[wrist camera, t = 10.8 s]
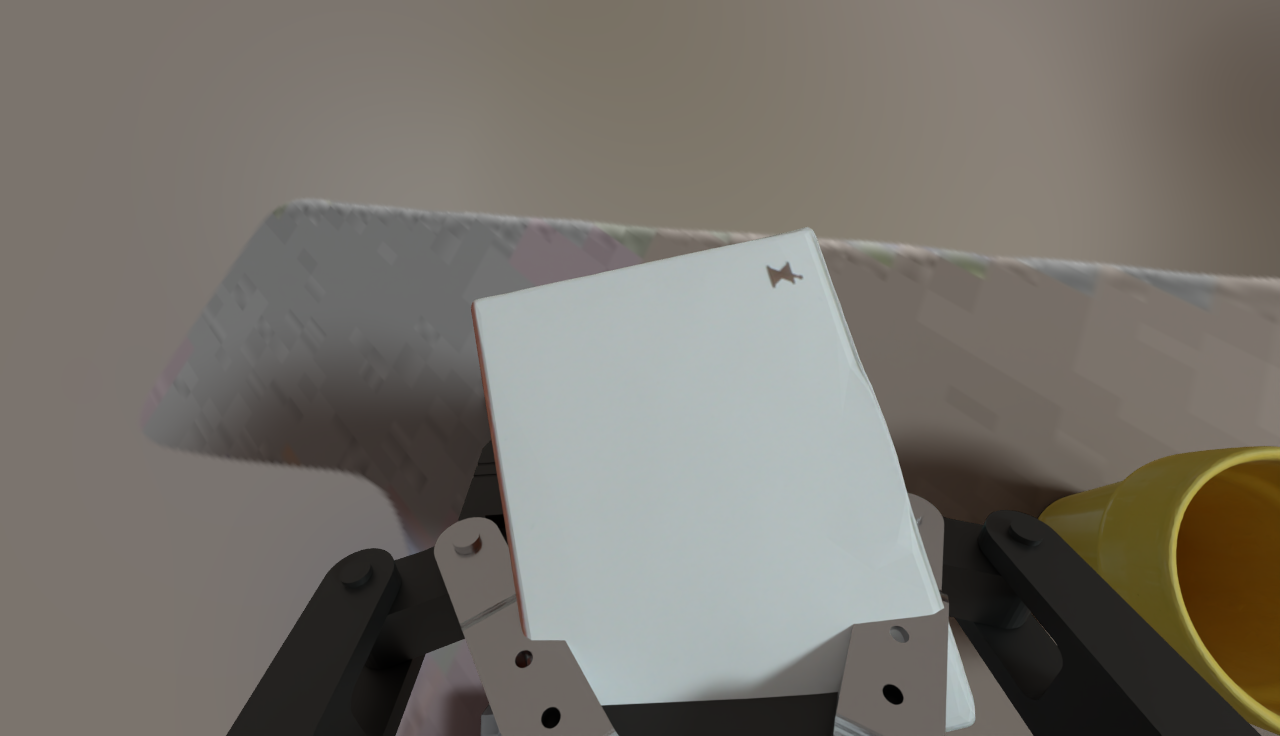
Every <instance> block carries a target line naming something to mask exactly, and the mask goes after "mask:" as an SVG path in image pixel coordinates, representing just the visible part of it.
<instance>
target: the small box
mask: <svg viewBox="0 0 1280 736" xmlns="http://www.w3.org/2000/svg"><path fill="white" fill-rule="evenodd" d="M471 312H472V318H473V325H474V331H475V338H476V344H477V351H478V357H479V364H480V370H481V377H482V383H483V389H484V396H485V402H486V408H487V414H488V421H489V427H490V433H491V439H492V445H493V452H494V458H495V464H496V471H497V477H498V483H499V490H500V496H501V502H502V509H503V515H504V521H505V527H506V534H507V541H508V547H509V553H510V560H511V566H512V572H513V579H514V586H515V592H516V598H517V605H518V611H519V617H520V623H521V628H522V632H523V634H524V636H525V637H527V638H529V639H530V640H565V641H566V643H567V644H568V646H569V648H570V650H571V652H572V653H573V655H574V657H575V659H576V661H577V663H578V664H579V666H580V668H581V670H582V672H583V673H584V675H585V677H586V679H587V681H588V683H589V684H590V686H591V688H592V690H593V692H594V693H595V695H596V697H597V699H598V701H599V702H600V704H601V705H619V704H641V703H663V702H684V701H706V700H727V699H749V698H764V697H780V696H795V695H810V694H822V693H832V692H838V690H839V685H840V680H841V675H842V671H843V667H844V662H845V658H846V654H847V649H848V645H849V641H850V636H851V632H852V628H853V624H859V623H867V622H876V621H885V620H893V619H902V618H911V617H919V616H926V615H933V614H935V613H937V612H938V611H940V610H942V609H943V608H944V605H943V602H942V599H941V596H940V593H939V590H938V587H937V584H936V581H935V578H934V575H933V572H932V569H931V566H930V563H929V560H928V557H927V554H926V551H925V548H924V545H923V542H922V539H921V536H920V533H919V530H918V527H917V523H916V520H915V517H914V514H913V511H912V509H911V505H910V501H909V498H908V494H907V490H906V487H905V483H904V479H903V476H902V472H901V468H900V465H899V461H898V457H897V454H896V451H895V448H894V445H893V442H892V439H891V436H890V433H889V430H888V428H887V425H886V422H885V419H884V417H883V414H882V412H881V409H880V407H879V404H878V401H877V399H876V396H875V394H874V391H873V388H872V386H871V384H870V382H869V380H868V378H867V376H866V373H865V371H864V369H863V366H862V364H861V361H860V359H859V356H858V353H857V350H856V348H855V345H854V342H853V339H852V336H851V334H850V331H849V328H848V325H847V323H846V320H845V317H844V314H843V311H842V308H841V305H840V302H839V299H838V297H837V294H836V292H835V289H834V286H833V284H832V281H831V278H830V275H829V272H828V269H827V266H826V263H825V260H824V258H823V255H822V252H821V249H820V246H819V243H818V240H817V237H816V235H815V233H814V231H813V230H812V229H810V228H809V227H806V228H802V229H798V230H794V231H790V232H786V233H782V234H778V235H774V236H769V237H765V238H761V239H757V240H752V241H748V242H743V243H739V244H734V245H729V246H724V247H719V248H714V249H710V250H705V251H700V252H696V253H691V254H686V255H682V256H677V257H672V258H667V259H662V260H658V261H653V262H648V263H644V264H639V265H635V266H630V267H626V268H621V269H617V270H612V271H607V272H602V273H598V274H594V275H590V276H585V277H580V278H575V279H570V280H566V281H561V282H556V283H551V284H547V285H542V286H537V287H533V288H528V289H524V290H520V291H516V292H511V293H507V294H502V295H496V296H491V297H486V298H481V299H477V300H475V301H474V302H473V303H472V306H471ZM890 634H891V636H892V637H893V638H894V639H895V640H896V641H898V642H901V643H905V641H904V638H903V636H902V634H901V633H900V632H899V631H898V630H895V629H893V630H891V631H890ZM532 660H533V659H532V658H528V660H527V665H528V666H529V665H530V664H531V662H532ZM974 722H975V707H974V699H973V696H972V693H971V690H970V687H969V684H968V681H967V678H966V674H965V671H964V668H963V664H962V661H961V658H960V654H959V651H958V648H957V646H956V643H955V640H954V637H953V634H952V631H951V628H950V625H949V622H948V658H947V695H946V732H948V731H953V730H957V729H961V728H966V727H969V726H971V725H972V724H973V723H974Z"/></svg>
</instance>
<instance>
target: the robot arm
mask: <svg viewBox="0 0 1280 736" xmlns="http://www.w3.org/2000/svg"><path fill="white" fill-rule="evenodd" d="M907 494H908V498H909V501H910V505H911V509H912V511H913V514H914V517H915V520H916V523H917V527H918V530H919V533H920V536H921V539H922V542H923V545H924V548H925V551H926V554H927V557H928V560H929V563H930V566H931V569H932V572H933V575H934V578H935V581H936V584H937V587H938V590H939V593H940V596H941V599H942V602H943V605H944V608H943V609H942V610H940V611H938V612H937V613H935V614H933V615H926V616H919V617H911V618H902V619H893V620H885V621H876V622H867V623H859V624H853V628H852V632H851V636H850V641H849V645H848V649H847V654H846V658H845V662H844V667H843V671H842V675H841V680H840V685H839V690H838V692H832V693H822V694H810V695H795V696H780V697H764V698H749V699H727V700H706V701H684V702H663V703H641V704H619V705H601V704H600V702H599V701H598V699H597V697H596V695H595V693H594V692H593V690H592V688H591V686H590V684H589V683H588V681H587V679H586V677H585V675H584V673H583V672H582V670H581V668H580V666H579V664H578V663H577V661H576V659H575V657H574V655H573V653H572V652H571V650H570V648H569V646H568V644H567V643H566V641H565V640H530V639H529V638H527V637H525V636H524V634H523V632H522V628H521V623H520V617H519V611H518V605H517V598H516V592H515V586H514V579H513V572H512V566H511V560H510V553H509V547H508V541H507V534H506V527H505V521H504V515H503V509H502V502H501V496H500V490H499V483H498V477H497V471H496V464H495V458H494V452H493V445H492V439H491V441H490V442H489V443H488V444H487V445H486V446H485V447H484V448H483V450H482V453H481V456H480V459H479V462H478V466H477V467H476V470H475V473H474V478H473V479H472V482H471V485H470V488H469V491H468V494H467V497H466V500H465V503H464V506H463V508H462V511H461V514H460V517H459V520H458V522H456V523H455V524H453V525H451V526H450V527H448V528H447V529H446V530H445V531H444V532H443V533H442V534H441V535H440V536H439V538H438V539H437V542H436V544H435V546H434V547H432V548H430V549H427V550H425V551H422V552H419V553H416V554H413V555H410V556H407V557H404V558H401V559H398V560H395V561H394V559H393V557H392V556H391V554H390V553H388V552H387V551H385V550H382V549H376V548H372V549H365V550H361V551H358V552H355V553H353V554H351V555H349V556H347V557H345V558H344V559H342V560H341V561H339V562H338V563H337V564H336V565H335V566H333V567H332V568H331V570H330V571H329V572H328V573H327V574H326V576H325V577H324V579H323V581H322V582H321V584H320V585H319V587H318V589H317V590H316V592H315V593H314V595H313V597H312V598H311V600H310V601H309V603H308V605H307V606H306V608H305V610H304V611H303V613H302V614H301V616H300V618H299V619H298V621H297V622H296V624H295V626H294V628H293V629H292V631H291V632H290V634H289V635H288V637H287V639H286V640H285V642H284V643H283V645H282V647H281V648H280V650H279V651H278V653H277V655H276V656H275V658H274V660H273V661H272V663H271V664H270V666H269V668H268V669H267V671H266V673H265V674H264V676H263V677H262V679H261V680H260V682H259V684H258V685H257V687H256V689H255V690H254V692H253V693H252V695H251V697H250V698H249V700H248V702H247V703H246V705H245V706H244V708H243V709H242V711H241V713H240V714H239V716H238V718H237V719H236V721H235V722H234V724H233V726H232V727H231V729H230V730H229V732H228V734H227V735H226V736H395V735H396V733H397V730H398V727H399V725H400V722H401V719H402V716H403V714H404V711H405V708H406V706H407V703H408V700H409V697H410V695H411V692H412V689H413V687H414V684H415V681H416V679H417V676H418V673H419V670H420V668H421V665H422V662H423V660H424V657H425V654H426V653H429V652H431V651H434V650H436V649H439V648H442V647H444V646H447V645H449V644H452V643H455V642H457V641H460V640H462V639H466V642H467V645H468V647H469V650H470V653H471V655H472V658H473V661H474V664H475V666H476V669H477V672H478V674H479V677H480V680H481V682H482V685H483V688H484V690H485V693H486V696H487V698H488V701H489V704H490V706H491V709H492V712H493V715H494V717H495V720H496V723H497V725H498V728H499V731H500V733H501V736H945V732H946V695H947V658H948V622H949V616H950V617H955V619H956V620H957V622H958V623H959V625H960V626H961V628H962V629H963V631H964V632H965V634H966V635H967V637H968V638H969V640H970V641H971V643H972V644H973V646H974V647H975V649H976V650H977V652H978V653H979V655H980V656H981V658H982V659H983V661H984V662H985V664H986V665H987V667H988V668H989V670H990V671H991V673H992V674H993V676H994V677H995V679H996V680H997V682H998V683H999V685H1000V686H1001V688H1002V689H1003V691H1004V692H1005V694H1006V695H1007V697H1008V698H1009V700H1010V701H1011V703H1012V704H1013V706H1014V707H1015V709H1016V710H1017V712H1018V713H1019V715H1020V716H1021V718H1022V719H1023V721H1024V722H1025V723H1026V725H1027V726H1028V728H1029V729H1030V731H1031V732H1032V734H1033V735H1034V736H1261V735H1260V734H1259V733H1258V732H1257V731H1256V730H1255V729H1254V728H1253V727H1252V726H1251V725H1250V724H1249V723H1248V722H1247V721H1246V720H1245V719H1244V718H1243V717H1242V716H1241V715H1240V714H1239V713H1238V712H1237V711H1236V710H1235V709H1234V708H1233V707H1232V706H1231V705H1230V704H1229V703H1228V702H1227V701H1226V700H1225V699H1224V698H1223V697H1222V696H1221V695H1220V694H1219V693H1218V692H1217V691H1216V690H1215V689H1214V688H1213V687H1212V686H1211V685H1210V684H1209V683H1208V682H1207V681H1206V680H1205V679H1204V678H1203V677H1202V676H1201V675H1200V674H1199V673H1198V672H1197V671H1195V670H1194V669H1193V668H1192V667H1191V666H1190V665H1189V664H1188V663H1187V662H1186V661H1185V660H1184V659H1183V658H1182V657H1181V656H1180V655H1179V654H1178V653H1177V652H1176V651H1175V650H1174V649H1173V648H1172V647H1171V646H1170V645H1169V644H1168V643H1167V642H1166V641H1165V640H1164V639H1163V638H1162V637H1161V636H1160V635H1159V634H1158V633H1157V632H1156V631H1155V630H1154V629H1153V628H1152V627H1151V626H1150V625H1149V624H1148V623H1147V622H1146V621H1145V620H1144V619H1143V618H1142V617H1141V616H1140V615H1139V614H1138V613H1137V612H1136V611H1135V610H1134V609H1133V608H1132V607H1131V606H1130V605H1129V604H1128V603H1127V602H1126V601H1125V600H1124V599H1123V598H1122V597H1121V596H1120V595H1119V594H1118V593H1117V592H1116V591H1115V590H1114V589H1113V588H1112V587H1111V586H1110V585H1109V584H1108V583H1107V582H1106V581H1105V580H1104V579H1103V578H1102V577H1101V576H1100V575H1099V574H1098V573H1097V572H1096V571H1095V570H1094V569H1093V568H1092V567H1091V566H1090V565H1089V564H1088V563H1087V562H1086V561H1085V560H1084V559H1083V558H1082V557H1081V556H1080V555H1079V554H1078V553H1077V552H1076V551H1075V550H1074V549H1072V548H1071V547H1070V546H1069V545H1068V544H1067V543H1066V542H1065V541H1064V540H1063V539H1062V538H1061V537H1060V536H1059V535H1058V534H1057V533H1056V532H1055V531H1054V530H1053V529H1052V528H1051V527H1049V526H1048V525H1047V524H1045V523H1044V522H1042V521H1040V520H1039V519H1036V518H1034V517H1032V516H1030V515H1027V514H1024V513H1021V512H1017V511H1010V510H1000V511H996V512H993V513H991V514H990V515H989V516H988V517H987V519H986V521H985V523H984V525H980V524H975V523H969V522H964V521H958V520H953V519H948V518H945V517H942V515H941V513H940V512H939V511H938V510H937V508H936V507H935V506H933V505H932V504H931V503H930V502H928V501H927V500H925V499H923V498H921V497H919V496H917V495H914V494H911V493H907ZM1031 612H1032V614H1033V615H1034V616H1035V617H1036V619H1037V620H1038V621H1039V622H1040V623H1041V625H1042V626H1043V627H1044V628H1045V630H1046V631H1047V632H1048V633H1049V634H1050V636H1051V637H1052V638H1053V639H1054V641H1055V642H1056V644H1057V645H1056V644H1055V643H1054V641H1053V640H1052V639H1051V638H1050V636H1049V635H1048V634H1047V633H1046V631H1045V630H1044V629H1043V628H1042V627H1041V625H1040V624H1039V623H1038V622H1037V620H1036V619H1035V618H1034V617H1033V615H1032V614H1031ZM893 629H895V630H898V631H899V632H900V633H901V634H902V636H903V638H904V641H905V643H901V642H898V641H896V640H895V639H894V638H893V637H892V636H891V634H890V631H891V630H893ZM528 658H532V659H533V660H532V662H531V664H530V665H529V666H528V665H527V660H528Z"/></svg>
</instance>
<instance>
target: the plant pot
mask: <svg viewBox="0 0 1280 736" xmlns="http://www.w3.org/2000/svg"><path fill="white" fill-rule="evenodd" d="M1038 519H1039V520H1040V521H1042V522H1044V523H1045V524H1047V525H1048V526H1049V527H1051V528H1052V529H1053V530H1054V531H1055V532H1056V533H1057V534H1058V535H1059V536H1060V537H1061V538H1062V539H1063V540H1064V541H1065V542H1066V543H1067V544H1068V545H1069V546H1070V547H1071V548H1072V549H1074V550H1075V551H1076V552H1077V553H1078V554H1079V555H1080V556H1081V557H1082V558H1083V559H1084V560H1085V561H1086V562H1087V563H1088V564H1089V565H1090V566H1091V567H1092V568H1093V569H1094V570H1095V571H1096V572H1097V573H1098V574H1099V575H1100V576H1101V577H1102V578H1103V579H1104V580H1105V581H1106V582H1107V583H1108V584H1109V585H1110V586H1111V587H1112V588H1113V589H1114V590H1115V591H1116V592H1117V593H1118V594H1119V595H1120V596H1121V597H1122V598H1123V599H1124V600H1125V601H1126V602H1127V603H1128V604H1129V605H1130V606H1131V607H1132V608H1133V609H1134V610H1135V611H1136V612H1137V613H1138V614H1139V615H1140V616H1141V617H1142V618H1143V619H1144V620H1145V621H1146V622H1147V623H1148V624H1149V625H1150V626H1151V627H1152V628H1153V629H1154V630H1155V631H1156V632H1157V633H1158V634H1159V635H1160V636H1161V637H1162V638H1163V639H1164V640H1165V641H1166V642H1167V643H1168V644H1169V645H1170V646H1171V647H1172V648H1173V649H1174V650H1175V651H1176V652H1177V653H1178V654H1179V655H1180V656H1181V657H1182V658H1183V659H1184V660H1185V661H1186V662H1187V663H1188V664H1189V665H1190V666H1191V667H1192V668H1193V669H1194V670H1195V671H1197V672H1198V673H1199V674H1200V675H1201V676H1202V677H1203V678H1204V679H1205V680H1206V681H1207V682H1208V683H1209V684H1210V685H1211V686H1212V687H1213V688H1214V689H1215V690H1216V691H1217V692H1218V693H1219V694H1220V695H1221V696H1222V697H1223V698H1224V699H1225V700H1226V701H1227V702H1228V703H1229V704H1230V705H1231V706H1232V707H1233V708H1234V709H1235V710H1236V711H1237V712H1238V713H1239V714H1240V715H1241V716H1242V717H1243V718H1244V719H1245V720H1246V721H1247V722H1248V723H1250V724H1252V725H1255V726H1257V727H1260V728H1262V729H1265V730H1267V731H1270V732H1272V733H1275V734H1277V735H1280V447H1273V446H1257V447H1240V448H1227V449H1216V450H1206V451H1198V452H1190V453H1182V454H1176V455H1171V456H1167V457H1164V458H1161V459H1158V460H1155V461H1152V462H1150V463H1148V464H1146V465H1144V466H1142V467H1141V468H1139V469H1137V470H1136V471H1134V472H1133V473H1132V474H1131V475H1129V476H1128V477H1127V478H1126V479H1125V480H1124V481H1121V482H1117V483H1114V484H1110V485H1106V486H1103V487H1099V488H1095V489H1092V490H1088V491H1085V492H1081V493H1077V494H1073V495H1070V496H1066V497H1064V498H1061V499H1059V500H1057V501H1055V502H1053V503H1052V504H1051V505H1049V506H1048V507H1047V508H1046V509H1045V510H1044V511H1043V512H1042V513H1041V515H1040V516H1039V518H1038Z"/></svg>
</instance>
